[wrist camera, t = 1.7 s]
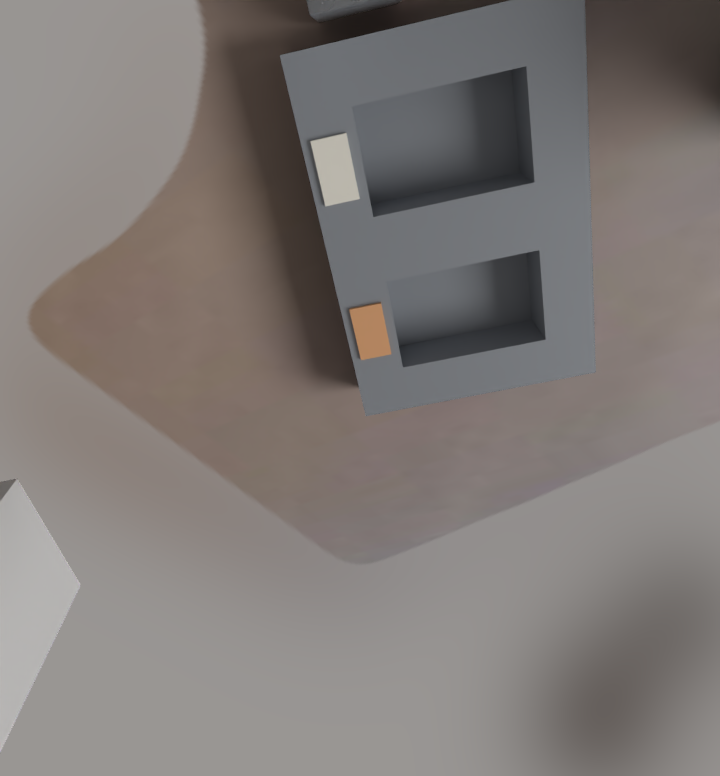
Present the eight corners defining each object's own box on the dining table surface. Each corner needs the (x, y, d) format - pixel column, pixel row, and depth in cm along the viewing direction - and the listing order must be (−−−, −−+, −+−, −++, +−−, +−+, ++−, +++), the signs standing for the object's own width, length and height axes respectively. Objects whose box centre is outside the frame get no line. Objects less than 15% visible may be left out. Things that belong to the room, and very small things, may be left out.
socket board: (285, 53, 32) (279, 55, 29) (559, -12, 31) (585, -18, 28) (364, 388, 42) (366, 417, 38) (576, 346, 41) (596, 373, 37)
